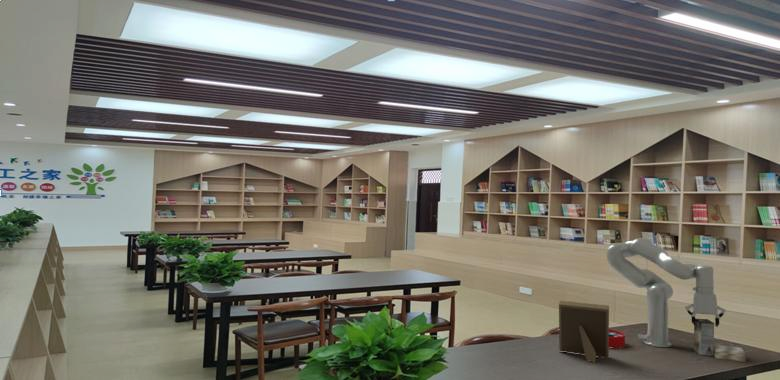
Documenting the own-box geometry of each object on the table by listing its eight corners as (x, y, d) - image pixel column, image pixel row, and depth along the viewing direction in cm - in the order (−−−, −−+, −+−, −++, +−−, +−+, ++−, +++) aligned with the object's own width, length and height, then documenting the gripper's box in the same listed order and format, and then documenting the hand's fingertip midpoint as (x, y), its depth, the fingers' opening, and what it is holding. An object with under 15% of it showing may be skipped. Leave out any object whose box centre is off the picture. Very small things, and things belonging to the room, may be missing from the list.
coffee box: (693, 350, 265) (693, 318, 266) (707, 351, 264) (707, 318, 265) (700, 354, 256) (700, 321, 257) (714, 356, 255) (714, 322, 256)
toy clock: (582, 326, 286) (622, 330, 281) (582, 337, 286) (621, 341, 281) (585, 334, 267) (627, 338, 262) (585, 346, 267) (627, 350, 262)
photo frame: (560, 350, 257) (561, 298, 258) (608, 356, 248) (609, 303, 249) (556, 357, 244) (557, 303, 244) (607, 365, 235) (608, 309, 235)
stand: (715, 358, 251) (715, 349, 251) (712, 352, 261) (712, 344, 261) (745, 361, 246) (745, 353, 247) (740, 356, 257) (740, 347, 257)
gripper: (685, 290, 261) (686, 325, 260) (726, 292, 254) (727, 328, 253) (684, 288, 268) (684, 322, 267) (723, 290, 261) (724, 325, 260)
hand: (705, 325), depth 260 cm, fingers open, 9 cm apart
